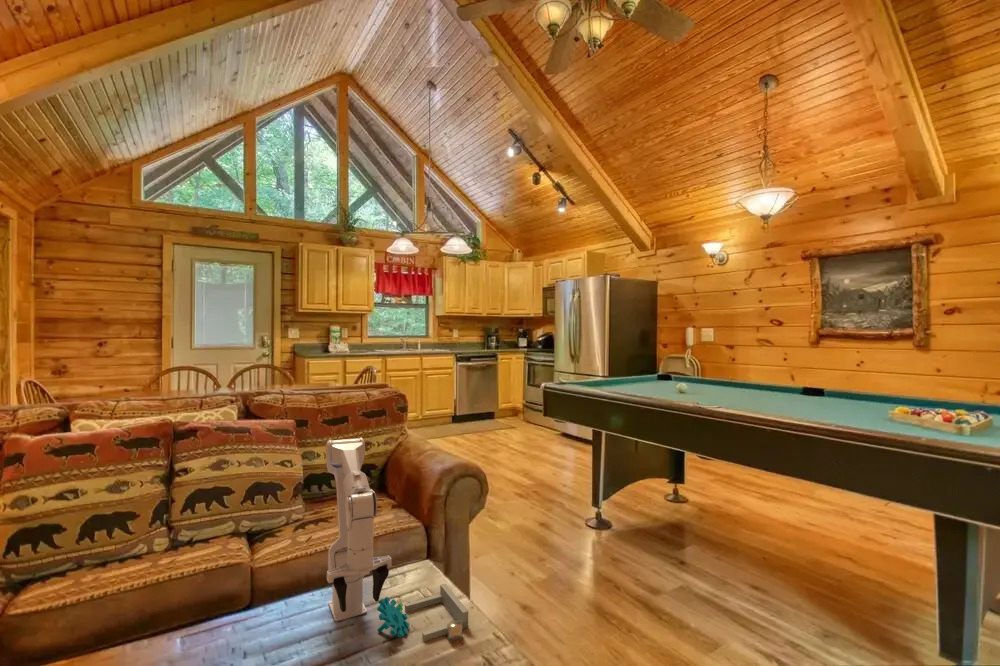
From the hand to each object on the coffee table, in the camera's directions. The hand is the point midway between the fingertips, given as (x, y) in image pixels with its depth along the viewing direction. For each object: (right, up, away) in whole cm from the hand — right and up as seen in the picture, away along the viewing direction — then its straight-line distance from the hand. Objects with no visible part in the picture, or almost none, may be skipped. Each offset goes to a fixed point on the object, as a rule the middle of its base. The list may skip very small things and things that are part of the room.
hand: (359, 604), depth 110 cm
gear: (+7, -10, +6) cm, 13 cm away
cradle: (+16, -10, +11) cm, 22 cm away
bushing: (+22, -10, +4) cm, 24 cm away
